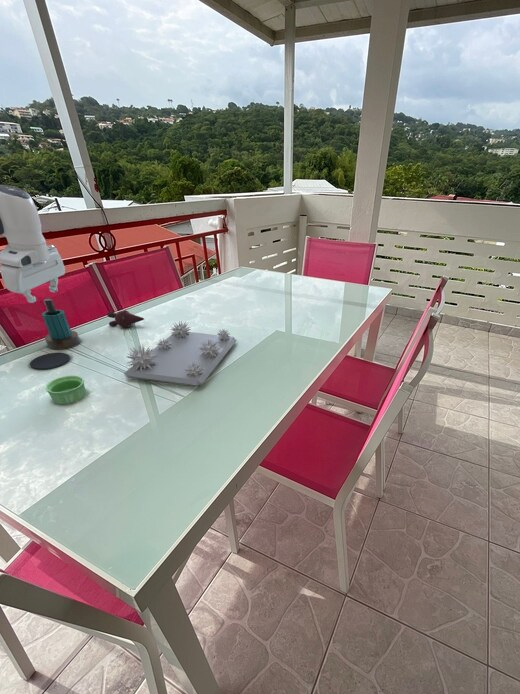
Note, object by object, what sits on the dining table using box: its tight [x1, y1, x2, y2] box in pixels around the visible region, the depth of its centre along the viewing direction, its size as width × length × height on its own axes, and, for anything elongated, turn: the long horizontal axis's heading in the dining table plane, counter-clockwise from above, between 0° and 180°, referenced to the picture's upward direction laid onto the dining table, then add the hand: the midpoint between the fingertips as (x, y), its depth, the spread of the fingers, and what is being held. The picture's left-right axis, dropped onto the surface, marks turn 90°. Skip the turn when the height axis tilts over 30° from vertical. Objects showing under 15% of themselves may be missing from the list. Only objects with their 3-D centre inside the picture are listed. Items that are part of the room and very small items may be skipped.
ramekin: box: [45, 375, 87, 405], centre depth 92 cm, size 9×9×4 cm
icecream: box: [106, 309, 145, 328], centre depth 133 cm, size 7×7×15 cm
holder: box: [43, 298, 81, 351], centre depth 115 cm, size 10×10×16 cm
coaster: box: [29, 352, 71, 371], centre depth 108 cm, size 11×11×1 cm
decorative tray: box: [123, 320, 237, 388], centre depth 111 cm, size 35×26×10 cm
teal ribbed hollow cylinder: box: [41, 309, 72, 339], centre depth 115 cm, size 6×6×8 cm
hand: (43, 296), depth 105 cm, fingers open, 8 cm apart
